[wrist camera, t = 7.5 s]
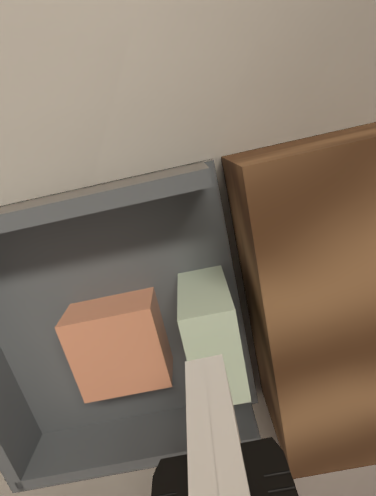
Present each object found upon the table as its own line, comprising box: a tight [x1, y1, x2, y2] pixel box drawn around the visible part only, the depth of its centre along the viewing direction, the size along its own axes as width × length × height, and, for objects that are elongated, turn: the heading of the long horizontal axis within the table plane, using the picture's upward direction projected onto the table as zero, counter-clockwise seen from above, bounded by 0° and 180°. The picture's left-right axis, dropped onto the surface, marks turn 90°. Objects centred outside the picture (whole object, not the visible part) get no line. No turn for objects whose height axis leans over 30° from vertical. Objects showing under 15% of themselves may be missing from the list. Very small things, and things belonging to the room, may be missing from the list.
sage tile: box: [177, 265, 251, 405], centre depth 17 cm, size 5×5×2 cm
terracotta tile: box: [55, 287, 173, 403], centre depth 18 cm, size 5×5×2 cm
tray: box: [0, 159, 261, 493], centre depth 18 cm, size 16×16×4 cm
